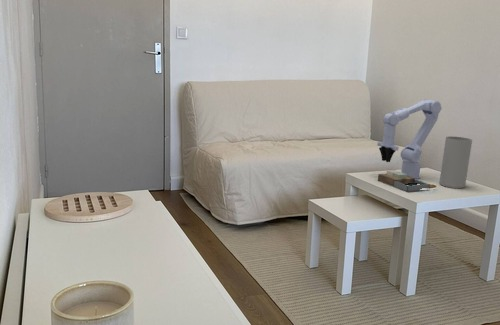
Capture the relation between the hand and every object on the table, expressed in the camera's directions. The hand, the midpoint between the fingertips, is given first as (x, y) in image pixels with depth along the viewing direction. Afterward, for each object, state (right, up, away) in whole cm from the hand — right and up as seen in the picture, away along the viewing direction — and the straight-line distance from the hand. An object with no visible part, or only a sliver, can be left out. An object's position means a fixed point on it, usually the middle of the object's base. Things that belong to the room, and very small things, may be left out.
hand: (385, 161), depth 255 cm
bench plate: (+3, -11, -6) cm, 13 cm away
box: (+8, -14, -17) cm, 23 cm away
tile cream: (+2, -7, -5) cm, 9 cm away
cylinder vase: (+33, -13, -6) cm, 36 cm away
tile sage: (+4, -8, -9) cm, 13 cm away
